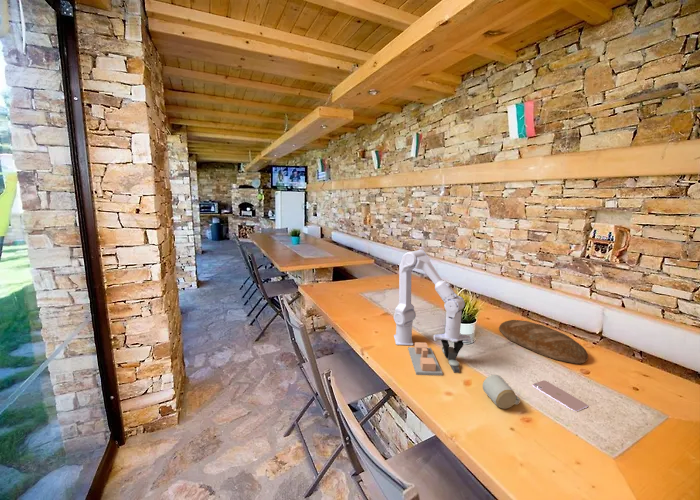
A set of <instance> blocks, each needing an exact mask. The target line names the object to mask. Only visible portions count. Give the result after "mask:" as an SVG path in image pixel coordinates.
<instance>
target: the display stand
mask: <svg viewBox="0 0 700 500" xmlns="http://www.w3.org/2000/svg"><path fill="white" fill-rule="evenodd" d="M413 346H414V347H412V346H411V347H409V346H408V348H407V351H408V353H409V356H410V359H411V363H412V366H413V369H414V371H415V375H417V376H419V375H420V376H443V374H444V373H443V370H442V368H441V367H440V364H439V363H438V360H437V358H436V355H435V354H434V351H433V350H432V347H429V346H428V343H427V342H417V341H416V342H414V345H413Z"/></svg>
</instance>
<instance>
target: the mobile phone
mask: <svg viewBox="0 0 700 500" xmlns="http://www.w3.org/2000/svg"><path fill="white" fill-rule="evenodd" d="M532 387H533V388H534V389H535V390H537V391H538V392H541V393H542V394H544V395H546V396H547V397H549V398H551V400H554V401H555V402H556V403H558V402H559V403H558V404H560V405H562V406H563V405H564V406H563V407H565V408H567V409H568V408H569V410H570V409H571V410H573V411H572V412H574V411H579V410H581V411H583V410H585V409H588V408H587V407H589V405H588V404H587V403H585V402H584V401H582V400H580V399H578V397H575V396H574V395H572V394H570V393H568V392H567V391H565V390H563V389H561V388H559V387H558V386H556V385H554V384H553V383H550V382H549V381H547V380H541V381H538V382H535V383H532ZM584 408H585V409H584ZM582 409H583V410H582ZM571 410H570V411H571ZM579 412H580V411H579Z"/></svg>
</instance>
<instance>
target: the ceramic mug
mask: <svg viewBox="0 0 700 500" xmlns="http://www.w3.org/2000/svg"><path fill="white" fill-rule="evenodd" d="M482 390H483V392H484V393H485V394H486V395H487V396H488V397H489V399H490V400H491V401H492V402H493V403H494V404H495V405H496V406H497V407H498V408H500V409H502V410H503V409H505V410H507V409H509V408H511V407H512V406H514V405H519V404H520V402H521V400H520V398H519V396H518V395H516V393H515V390H514V389H513V388H512V387H510V385H509V384H508V383H507V382H506V381H505V380H504V378H503V377H501V376H500V375H499V374H498V375H497V374H491V375H488V376H487V377H486V378H485V379H484V381H483V382H482Z"/></svg>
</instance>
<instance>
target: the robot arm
mask: <svg viewBox="0 0 700 500" xmlns="http://www.w3.org/2000/svg"><path fill="white" fill-rule="evenodd" d="M401 258H402V259H401V261H400V263H399V267H398V269H399V271H398V273H399V274H398V276H399V277H398V279H399V280H398V281H399V282H398V283H399V284H398V304H397V306H396V307H395V309H394V313H393V320H394V322H395V324H396V325H395V334H393V338H394V342H395V345H396V346H414V343H413V339H412V335H413V322H414V320H415V319H416V315H417V314H416V311H415V306H414V304H412V272H413V270H414V269H418V270H422V271H423V272H424V273H425V274H426V275H427V277H428V278H429V279H430V281H432V283H433V284H434V290H435V292H436V293H437V294H438V295H439V298H440V299H441V300H442V301H443V303H444V304H443V305H444V306H443V307H444V309H445V312H446V314H445V317H446V318H445V329H444V333H443V332H442V333H439V334H437V333H436V334H433V340H434V342H437V341H440V342H441V345H442V347H443V348H444V353H445V355H444V357H445V358H446V359H447V358H448V349H449V347H450V344H449V342H450V341H451V342H453V348H454V350H455V351H456V353H457V355H456V359H457V358H458V355H459V352H460V351H461V349H462V348H463V347H464V346H465V345H464V342H468V343H471V339H472V338H471V336H470V335H468V334H467V335H466V334H461V323H462V314H463V313H462V311H463V309H464V307H465V305H466V303H465V300H464V298H463V296H460V295H458V294H457V293H456V292H455V291H454V290H453V289H452V287H451V286H452V285H451V284H450V282H448V281H446V280H443V279H442V277H441V276H440V274H439V273H438V271H437V270H436V269H435V267H434V266H433V264H432V262H431V259H430V257H429V255H428V254H427V253H426V251H425V250H424V249H418V250H413V251H407V252H405V253H404V254H403V255H402V256H401ZM444 353H443V354H444Z"/></svg>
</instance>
